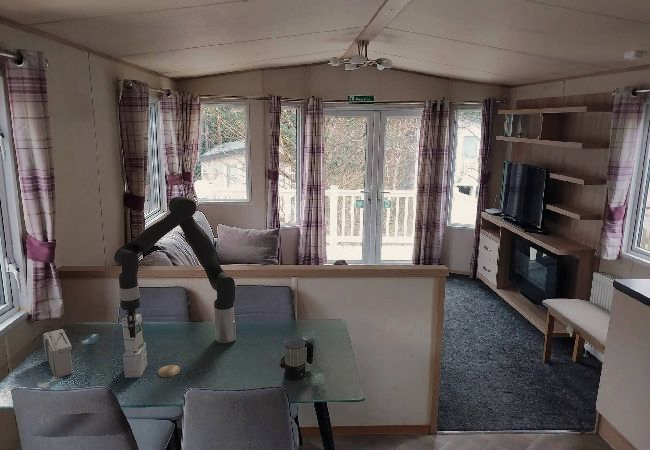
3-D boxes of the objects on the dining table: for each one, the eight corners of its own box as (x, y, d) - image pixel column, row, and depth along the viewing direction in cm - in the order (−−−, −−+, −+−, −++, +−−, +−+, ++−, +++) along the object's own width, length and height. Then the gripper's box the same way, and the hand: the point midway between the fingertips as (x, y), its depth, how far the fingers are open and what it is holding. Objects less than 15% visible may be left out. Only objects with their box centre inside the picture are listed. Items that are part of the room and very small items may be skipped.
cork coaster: (179, 364, 211) (179, 363, 211) (180, 375, 203) (180, 374, 203) (157, 368, 208) (157, 367, 208) (158, 378, 200) (158, 377, 200)
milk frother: (297, 383, 198) (297, 350, 194) (267, 372, 206) (266, 340, 203) (316, 368, 210) (316, 336, 206) (287, 358, 218) (286, 327, 214)
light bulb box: (132, 364, 211) (130, 342, 208) (148, 364, 211) (146, 341, 209) (124, 378, 201) (122, 354, 198) (141, 377, 201) (138, 353, 199)
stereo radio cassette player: (45, 360, 214) (39, 318, 209) (66, 354, 219) (61, 313, 214) (53, 381, 198) (47, 336, 193) (75, 374, 203) (70, 330, 198)
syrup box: (137, 351, 200) (134, 319, 197) (124, 350, 201) (121, 318, 198) (144, 345, 206) (142, 313, 202) (132, 344, 207) (129, 312, 203)
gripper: (139, 301, 193) (142, 339, 197) (139, 289, 206) (142, 324, 210) (119, 304, 190) (122, 341, 194) (120, 291, 203) (124, 327, 207)
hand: (133, 332), depth 202 cm, fingers open, 8 cm apart
